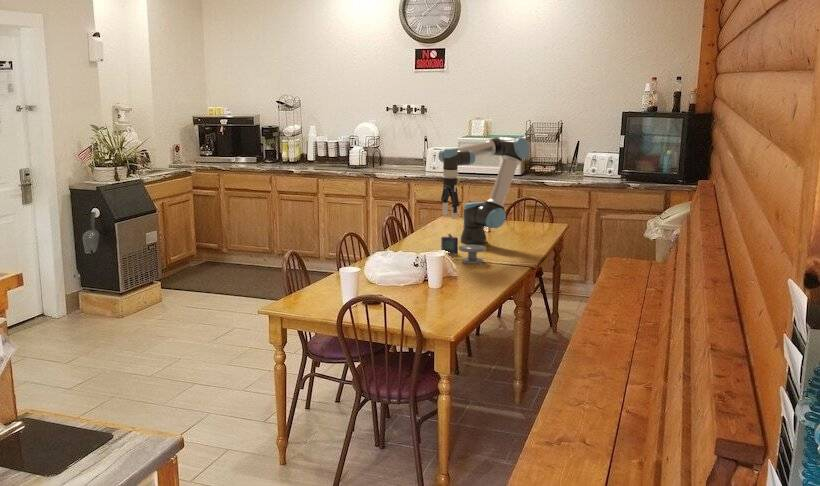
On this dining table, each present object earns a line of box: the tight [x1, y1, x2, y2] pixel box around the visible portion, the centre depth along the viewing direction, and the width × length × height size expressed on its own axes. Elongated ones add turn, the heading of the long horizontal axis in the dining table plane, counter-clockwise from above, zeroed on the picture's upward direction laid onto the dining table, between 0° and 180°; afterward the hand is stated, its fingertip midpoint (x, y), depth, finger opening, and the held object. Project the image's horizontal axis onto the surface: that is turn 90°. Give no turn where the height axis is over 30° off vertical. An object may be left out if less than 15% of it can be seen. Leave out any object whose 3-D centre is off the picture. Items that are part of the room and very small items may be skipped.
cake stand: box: [458, 244, 487, 265], centre depth 381 cm, size 14×14×8 cm
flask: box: [440, 233, 459, 255], centre depth 400 cm, size 9×3×11 cm, turn 72°
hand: (449, 216), depth 396 cm, fingers open, 13 cm apart
